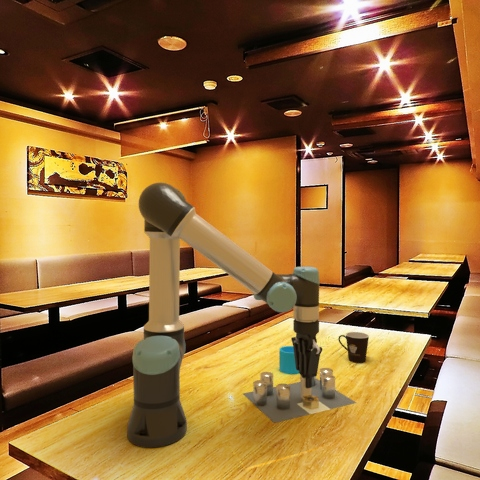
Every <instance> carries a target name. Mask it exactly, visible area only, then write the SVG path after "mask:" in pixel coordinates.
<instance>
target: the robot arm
mask: <svg viewBox="0 0 480 480" xmlns="http://www.w3.org/2000/svg"><path fill="white" fill-rule="evenodd" d="M138 211H139V213H140V215H141V216H142V218H143V219H144V222H143V223H144V229H143V230H144V234H145V235H146V236H147V237H148V238H149V279H148V280H149V286H148V287H149V288H148V289H149V293H148V294H149V295H148V296H149V297H148V300H149V301H148V303H149V304H148V321H147V322H146V323H145V324H144V325H143V339H141V340H139V341H138V342H137V343H136V344H135V346H134V347H133V352H132V358H131V360H132V366H133V367H132V371H133V374H132V376H133V377H132V379H133V381H132V382H133V383H132V384H133V406H132V409H131V413H130V416H129V420H128V422H127V426H126V435H127V439H128V441H129V442H130V443H131V444H132V445H135V446H138V447H142V448H159V447H164V446H169V445H173V444H174V443H175V442H177V441H180V440H181V439H182V438H183V437H184V436H185V435H186V433H187V430H188V429H187V428H188V424H187V423H188V420H187V417H186V414H185V411H184V408H183V405H182V403H181V402H182V401H181V397H180V396H181V394H180V392H181V389H180V385H181V384H180V383H181V380H180V377H181V376H180V374H181V373H180V372H181V367H182V362H183V358H184V357H185V354H186V346H187V345H186V341H185V325H184V323H183V322H182V321H181V320H180V273H181V272H180V266H181V265H180V263H181V261H180V256H181V255H180V253H181V248H180V247H181V240H182V241H183V242H184V243H185V244H187V245H188V246H190V247H191V248H192V249H193V250H195V251H196V252H198V253H199V254H200V255H202V256H203V257H205V258H206V259H207V260H208V261H210V262H211V263H212V264H214V265H215V266H217V267H218V268H219V269H220V270H222V271H223V272H225V274H228V275H229V276H230V277H231V278H233V279H234V280H236V282H238V283H239V284H241V285H242V286H243V287H244V288H246V289H248V290H249V291H250V292H251V293H252V294H253V299H254V300H257V301H263V302H265V304H267V305H268V306H269V308H271V310H273V311H275V312H277V313H286V312H287V313H288V312H290V311H291V310H292V309H293V312H292V313H293V314H292V315H293V322H292V323H293V325H292V326H293V330H292V331H294V333H295V336H293V337H291V342H292V343H291V344H292V346H293V349H294V357H295V365H296V370H299V373H298V374H299V376H300V381H299V382H301V397H302V398H303V396H307V395H311V387H312V377H315V376H316V377H317V376H318V375H317V374H318V370H319V363H320V358H321V354H322V352H323V348H322V346H318V344H317V342H318V340H317V334H319V332H320V320H319V319H320V284H321V282H320V271H319V269H318V268H317V267H314V266H296V267H294V268H293V272H292V273H288V274H286V273H285V274H281V273H279V274H276V273H275V272H273V270H271V269H270V268H268V267H267V266H266V265H264V264H263V263H262V262H261V261H259V260H258V259H257V258H256V257H254V256H253V255H251V254H250V253H249V252H248V251H246V250H245V249H244V248H243V247H241V246H239V245H238V244H237V243H235V242H234V241H233V240H232V239H230V238H229V237H228V236H226V234H224V233H222V232H221V231H220V230H218V229H217V228H216V227H215V226H214V225H212V224H211V223H209V222H208V221H206V220H205V219H204V218H203V217H202V216H200V215H199V214H197V213H196V212H197V211H196V207H194V206H193V205H192V204H191V203H189V202H188V201H187V200H186V197H185V195H183V193H182V192H181V191H180V190H179V189H177V188H176V187H175V186H173V185H172V184H169V183H167V182H155V183H152V184H149V185H148V186H146V187H145V188H144V189H143V190H142V192H140V196H139V199H138Z"/></svg>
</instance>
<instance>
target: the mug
mask: <svg viewBox="0 0 480 480" xmlns="http://www.w3.org/2000/svg"><path fill="white" fill-rule="evenodd" d="M278 352H279V358H278V359H279V366H278V368H279V369H278V370H279V371H280V373H282V374H285V375H298V374H299V370H296V365H295V357H294V349H293V345H284V346H282V347H280V348H279V351H278Z"/></svg>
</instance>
